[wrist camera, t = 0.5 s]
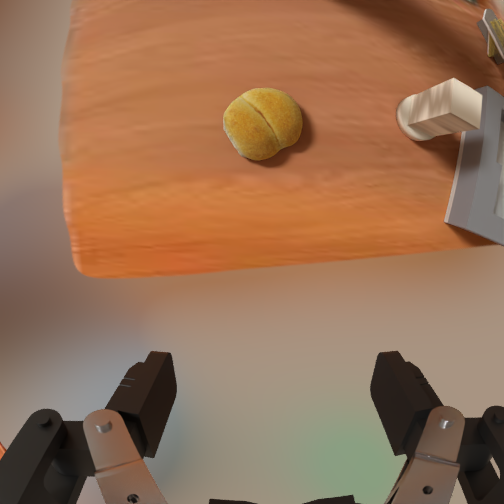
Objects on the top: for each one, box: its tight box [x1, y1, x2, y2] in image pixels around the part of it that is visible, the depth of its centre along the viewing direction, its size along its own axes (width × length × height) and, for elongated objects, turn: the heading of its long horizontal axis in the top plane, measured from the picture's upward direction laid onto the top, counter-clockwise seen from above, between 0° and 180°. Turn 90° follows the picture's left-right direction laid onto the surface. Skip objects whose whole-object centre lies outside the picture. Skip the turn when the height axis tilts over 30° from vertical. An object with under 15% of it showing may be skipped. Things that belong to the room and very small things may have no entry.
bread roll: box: [223, 88, 303, 160], centre depth 33 cm, size 8×9×4 cm
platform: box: [477, 9, 504, 65], centre depth 26 cm, size 12×18×6 cm, turn 23°
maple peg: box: [396, 78, 482, 141], centre depth 27 cm, size 6×6×12 cm
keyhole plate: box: [444, 86, 504, 246], centre depth 31 cm, size 20×14×6 cm
